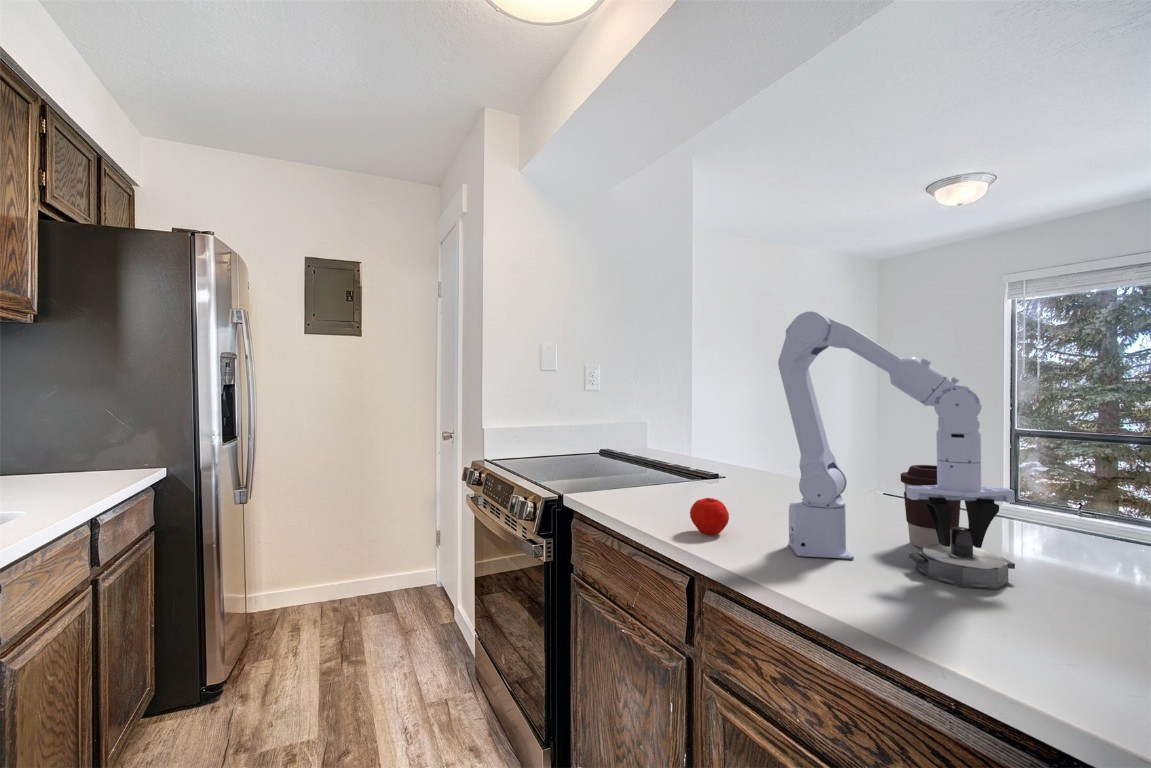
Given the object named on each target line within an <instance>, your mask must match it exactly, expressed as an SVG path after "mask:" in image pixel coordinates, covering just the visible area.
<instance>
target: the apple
mask: <svg viewBox="0 0 1151 768" xmlns="http://www.w3.org/2000/svg"><path fill="white" fill-rule="evenodd" d="M729 515H730V513H729V510H728V508H727V507H726V505H725V504H724V503H723V502H722V501H720V500H719V499H715V498H712V497H705V498H701V499H697V500H696V501H695V502H694V503H693V504H692V506H691V507H690V511H689V518H690V520H691V522H692V523H693V525H694V526H695V528H696V529H697V530H698V531H699V532H700V533H701V534H703V535H708V536H717V535H719V534H721V533H722V532H723V530H724V529H725V528H726V526H727V525H728V524H729V521H730V516H729Z"/></svg>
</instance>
